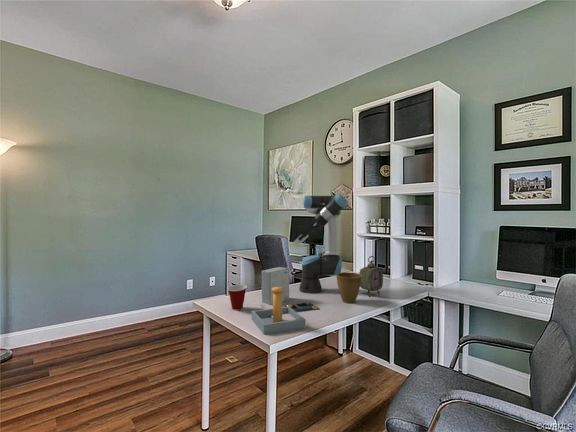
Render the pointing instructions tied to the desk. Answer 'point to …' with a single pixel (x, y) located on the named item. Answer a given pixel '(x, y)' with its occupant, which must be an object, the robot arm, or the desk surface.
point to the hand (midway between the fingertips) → (297, 242)
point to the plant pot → (348, 286)
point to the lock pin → (277, 304)
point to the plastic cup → (237, 296)
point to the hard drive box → (275, 283)
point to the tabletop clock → (371, 277)
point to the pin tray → (267, 325)
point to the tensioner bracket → (302, 307)
